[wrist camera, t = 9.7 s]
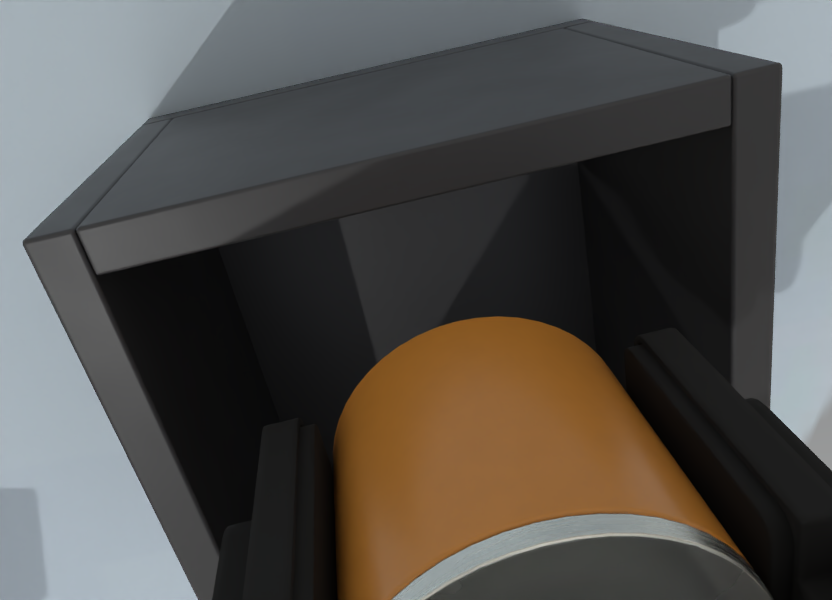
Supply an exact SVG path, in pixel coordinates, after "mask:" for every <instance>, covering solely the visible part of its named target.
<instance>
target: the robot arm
mask: <svg viewBox="0 0 832 600" xmlns="http://www.w3.org/2000/svg"><path fill="white" fill-rule="evenodd" d="M624 364H625V377H626V389H627V393H628V395H629V396H630V398H631V399H632V400H633V402H634V403H635V405H636V406H637V407H638V409H639V410H640V412H641V413H642V414H643V416H644V417H645V419H646V420H647V421H648V423H649V424H650V426H651V427H652V428H653V430H654V431H655V433H656V434H657V435H658V437H659V438H660V440H661V441H662V442H663V444H664V445H665V446H666V448H667V449H668V451H669V452H670V453H671V455H672V456H673V458H674V459H675V460H676V462H677V463H678V465H679V466H680V467H681V469H682V470H683V472H684V473H685V474H686V476H687V477H688V479H689V480H690V481H691V483H692V484H693V486H694V487H695V488H696V490H697V491H698V493H699V494H700V495H701V497H702V498H703V500H704V501H705V502H706V504H707V505H708V506H709V508H710V509H711V511H712V512H713V513H714V515H715V516H716V518H717V519H718V520H719V522H720V523H721V525H722V526H723V527H724V529H725V530H726V532H727V533H728V534H729V536H730V537H731V539H732V540H733V541H734V543H735V544H736V546H737V547H738V548H739V550H740V551H741V553H742V554H743V555H744V557H745V558H746V560H747V561H748V562H749V564H750V565H751V566H752V568H753V570H754V571H755V572H756V574H757V575H758V576H759V578H760V579H761V580H762V582H763V583H764V585H765V586H766V587H767V589H768V590H769V592H770V593H771V594H772V596H773V598H774V600H832V471H831V470H830V469H829V468H828V467H827V466H826V465H825V464H824V463H823V462H822V461H821V460H820V459H819V458H818V457H817V456H816V455H815V454H814V453H813V452H812V451H811V450H810V449H809V448H808V447H807V446H806V445H805V444H804V443H803V442H802V441H801V440H800V439H799V438H798V437H797V436H796V435H795V434H794V433H793V432H792V431H791V430H790V429H789V428H788V427H787V426H786V425H785V424H784V423H783V422H782V421H781V420H780V419H779V418H778V417H777V416H776V415H775V414H774V413H773V412H772V411H771V410H770V409H769V408H768V407H767V406H766V405H764V404H763V403H762V402H760V401H759V400H758V399H754V398H748V399H744V398H743V397H742V396H741V395H740V394H739V393H738V392H737V391H736V390H735V388H734V387H733V386H732V385H731V384H730V383H729V382H728V381H727V380H726V379H725V378H724V377H723V376H722V375H721V374H720V373H719V372H718V371H717V370H716V369H715V368H714V367H713V366H712V365H711V364H710V363H709V362H708V361H707V360H706V359H705V358H704V357H703V356H702V355H701V354H700V353H699V352H698V351H697V349H696V348H695V347H694V346H693V345H692V344H691V343H690V342H689V341H688V340H687V339H686V338H685V337H684V336H683V335H682V334H681V333H680V332H679V331H678V330H677V329H675V328H667V329H663V330H659V331H654V332H650V333H646V334H642V335H638V336H636V337H635V340H634V346H633V347H629V348H626V349H625V351H624ZM212 600H337V574H336V541H335V508H334V475H333V471H332V468H331V465H330V461H329V458H328V455H327V452H326V449H325V446H324V443H323V440H322V437H321V434H320V431H319V428H318V426H317V424H311V425H307V426H305V425H304V423H303V421H302V419H301V418H300V417H299V418H295V419H291V420H287V421H283V422H279V423H274V424H270V425H266V426H264V427H263V430H262V437H261V445H260V454H259V462H258V471H257V479H256V488H255V496H254V505H253V513H252V520H251V521H247V522H242V523H238V524H234V525H230V526H228V527H227V528H226V529H225V530H224V534H223V538H222V542H221V549H220V555H219V561H218V567H217V573H216V579H215V585H214V591H213V597H212Z"/></svg>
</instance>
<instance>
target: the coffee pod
mask: <svg viewBox="0 0 832 600" xmlns="http://www.w3.org/2000/svg"><path fill="white" fill-rule="evenodd" d="M333 475H334V508H335V541H336V574H337V600H774V598H773V596H772V594H771V593H770V592H769V590H768V589H767V587H766V586H765V585H764V583H763V582H762V580H761V579H760V578H759V576H758V575H757V574H756V572H755V571H754V570H753V568H752V566H751V565H750V564H749V562H748V561H747V560H746V558H745V557H744V555H743V554H742V553H741V551H740V550H739V548H738V547H737V546H736V544H735V543H734V541H733V540H732V539H731V537H730V536H729V534H728V533H727V532H726V530H725V529H724V527H723V526H722V525H721V523H720V522H719V520H718V519H717V518H716V516H715V515H714V513H713V512H712V511H711V509H710V508H709V506H708V505H707V504H706V502H705V501H704V500H703V498H702V497H701V495H700V494H699V493H698V491H697V490H696V488H695V487H694V486H693V484H692V483H691V481H690V480H689V479H688V477H687V476H686V474H685V473H684V472H683V470H682V469H681V467H680V466H679V465H678V463H677V462H676V460H675V459H674V458H673V456H672V455H671V453H670V452H669V451H668V449H667V448H666V446H665V445H664V444H663V442H662V441H661V440H660V438H659V437H658V435H657V434H656V433H655V431H654V430H653V428H652V427H651V426H650V424H649V423H648V421H647V420H646V419H645V417H644V416H643V414H642V413H641V412H640V410H639V409H638V407H637V406H636V405H635V403H634V402H633V400H632V399H631V398H630V396H629V395H628V393H627V392H626V391H625V389H624V388H623V387H622V385H621V384H620V382H619V381H618V380H617V378H616V377H615V375H614V374H613V373H612V371H611V370H610V368H609V367H608V366H607V365H606V363H605V362H604V361H603V359H602V358H601V357H600V356H599V355H598V354H597V353H596V352H595V351H594V350H593V349H592V348H590V347H589V346H588V345H587V344H585V343H584V342H583V341H581V340H580V339H578V338H577V337H575V336H574V335H572V334H570V333H568V332H566V331H564V330H561V329H559V328H557V327H554V326H551V325H548V324H545V323H542V322H539V321H534V320H529V319H523V318H518V317H501V316H495V317H479V318H472V319H467V320H461V321H456V322H453V323H449V324H446V325H443V326H439V327H436V328H434V329H431V330H429V331H427V332H425V333H422V334H420V335H418V336H416V337H414V338H412V339H410V340H409V341H407V342H405V343H404V344H402V345H400V346H398V347H397V348H396V349H394V350H393V351H392V352H390V353H389V354H388V355H386V356H385V357H384V358H382V359H381V360H380V361H379V362H378V363H377V364H376V365H375V366H374V367H373V368H372V369H371V370H370V371H369V372H368V373H367V374H366V375H365V377H364V378H363V379H362V380H361V382H360V383H359V384H358V385H357V387H356V388H355V389H354V391H353V393H352V394H351V396H350V398H349V399H348V401H347V403H346V404H345V407H344V409H343V411H342V414H341V416H340V418H339V421H338V425H337V429H336V433H335V437H334V447H333Z"/></svg>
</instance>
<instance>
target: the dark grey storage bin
mask: <svg viewBox="0 0 832 600" xmlns="http://www.w3.org/2000/svg"><path fill="white" fill-rule="evenodd" d="M781 90H782V65H781V64H780V63H777V62H772V61H768V60H763V59H759V58H755V57H750V56H746V55H741V54H737V53H732V52H728V51H723V50H719V49H714V48H710V47H705V46H701V45H696V44H692V43H688V42H683V41H679V40H674V39H670V38H665V37H661V36H656V35H652V34H647V33H643V32H638V31H634V30H630V29H625V28H621V27H616V26H612V25H607V24H603V23H598V22H594V21H590V20H585V19H579V20H575V21H571V22H566V23H562V24H558V25H553V26H549V27H545V28H540V29H536V30H532V31H527V32H523V33H519V34H514V35H510V36H506V37H501V38H497V39H493V40H488V41H484V42H480V43H475V44H471V45H467V46H462V47H458V48H454V49H449V50H445V51H441V52H436V53H432V54H428V55H423V56H419V57H415V58H410V59H406V60H402V61H397V62H393V63H389V64H384V65H380V66H376V67H371V68H367V69H363V70H358V71H354V72H350V73H345V74H341V75H337V76H332V77H328V78H324V79H319V80H315V81H311V82H307V83H302V84H298V85H294V86H289V87H285V88H281V89H276V90H272V91H268V92H263V93H259V94H255V95H250V96H246V97H242V98H237V99H233V100H229V101H224V102H220V103H216V104H211V105H207V106H203V107H198V108H194V109H190V110H185V111H181V112H177V113H172V114H168V115H164V116H159V117H155V118H151V119H148V120H147V121H146V122H145V123H144V124H143V125H142V126H141V127H140V128H139V129H138V130H137V131H136V132H135V133H134V134H133V135H132V136H131V137H130V138H129V139H128V140H127V141H126V142H125V143H124V144H123V145H122V146H120V147H119V148H118V149H117V150H116V151H115V152H114V153H113V154H112V155H111V156H110V157H109V158H108V159H107V160H106V161H105V162H104V163H103V164H102V165H101V166H100V167H99V168H98V169H97V170H96V171H95V172H94V173H93V174H92V175H91V176H89V177H88V178H87V179H86V180H85V181H84V182H83V183H82V184H81V185H80V186H79V187H78V188H77V189H76V190H75V191H74V192H73V193H72V194H71V195H70V196H69V197H68V198H67V199H66V200H65V201H64V202H63V203H62V204H61V205H60V206H58V207H57V208H56V209H55V210H54V211H53V212H52V213H51V214H50V215H49V216H48V217H47V218H46V219H45V220H44V221H43V222H42V223H41V224H40V225H39V226H38V227H37V228H36V229H35V230H34V231H33V232H32V233H31V234H30V235H29V236H27V237H26V238H25V239H24V240H23V246H24V248H25V250H26V252H27V254H28V256H29V258H30V260H31V262H32V264H33V266H34V268H35V270H36V272H37V274H38V276H39V278H40V280H41V282H42V284H43V286H44V289H45V291H46V293H47V295H48V297H49V299H50V301H51V303H52V305H53V307H54V309H55V311H56V313H57V315H58V317H59V319H60V321H61V323H62V325H63V327H64V329H65V331H66V333H67V335H68V337H69V339H70V341H71V343H72V345H73V347H74V349H75V351H76V353H77V355H78V357H79V359H80V361H81V363H82V365H83V367H84V369H85V372H86V374H87V376H88V378H89V380H90V382H91V384H92V386H93V388H94V390H95V392H96V394H97V396H98V398H99V400H100V402H101V404H102V406H103V408H104V410H105V412H106V414H107V416H108V418H109V420H110V422H111V424H112V426H113V428H114V430H115V432H116V434H117V436H118V438H119V440H120V442H121V444H122V446H123V448H124V450H125V452H126V454H127V457H128V459H129V461H130V463H131V465H132V467H133V469H134V471H135V473H136V475H137V477H138V479H139V481H140V483H141V485H142V487H143V489H144V491H145V493H146V495H147V497H148V499H149V501H150V503H151V505H152V507H153V509H154V511H155V513H156V515H157V517H158V519H159V521H160V523H161V525H162V527H163V529H164V531H165V533H166V535H167V537H168V540H169V542H170V544H171V546H172V548H173V550H174V552H175V554H176V556H177V558H178V560H179V562H180V564H181V566H182V568H183V570H184V572H185V574H186V576H187V578H188V580H189V582H190V584H191V586H192V588H193V590H194V592H195V594H196V596H197V598H198V600H212V597H213V591H214V585H215V579H216V573H217V567H218V561H219V555H220V549H221V542H222V538H223V534H224V530H225V529H226V528H227V527H228V526H230V525H234V524H238V523H242V522H247V521H251V520H252V513H253V505H254V496H255V488H256V479H257V471H258V462H259V454H260V445H261V437H262V430H263V427H264V426H266V425H270V424H274V423H279V422H283V421H287V420H291V419H295V418H299V417H300V418H301V419H302V421H303V423H304V425H305V426H307V425H311V424H317V426H318V428H319V431H320V434H321V437H322V440H323V443H324V446H325V449H326V452H327V455H328V458H329V461H330V465H331V468H332V471H333V447H334V437H335V433H336V429H337V425H338V421H339V418H340V416H341V414H342V411H343V409H344V407H345V404H346V403H347V401H348V399H349V398H350V396H351V394H352V393H353V391H354V389H355V388H356V387H357V385H358V384H359V383H360V382H361V380H362V379H363V378H364V377H365V375H366V374H367V373H368V372H369V371H370V370H371V369H372V368H373V367H374V366H375V365H376V364H377V363H378V362H379V361H380V360H381V359H382V358H384V357H385V356H386V355H388V354H389V353H390V352H392V351H393V350H394V349H396V348H397V347H398V346H400V345H402V344H404V343H405V342H407V341H409V340H410V339H412V338H414V337H416V336H418V335H420V334H422V333H425V332H427V331H429V330H431V329H434V328H436V327H439V326H443V325H446V324H449V323H453V322H456V321H461V320H467V319H472V318H479V317H495V316H501V317H518V318H523V319H529V320H534V321H539V322H542V323H545V324H548V325H551V326H554V327H557V328H559V329H561V330H564V331H566V332H568V333H570V334H572V335H574V336H575V337H577V338H578V339H580V340H581V341H583V342H584V343H585V344H587V345H588V346H589V347H590V348H592V349H593V350H594V351H595V352H596V353H597V354H598V355H599V356H600V357H601V358H602V359H603V361H604V362H605V363H606V365H607V366H608V367H609V368H610V370H611V371H612V373H613V374H614V375H615V377H616V378H617V380H618V381H619V382H620V384H621V385H622V387H623V388H624V389H625V391H626V392H627V389H626V377H625V364H624V351H625V349H626V348H629V347H633V346H634V340H635V337H636V336H638V335H642V334H646V333H650V332H654V331H659V330H663V329H667V328H675V329H677V330H678V331H679V332H680V333H681V334H682V335H683V336H684V337H685V338H686V339H687V340H688V341H689V342H690V343H691V344H692V345H693V346H694V347H695V348H696V349H697V351H698V352H699V353H700V354H701V355H702V356H703V357H704V358H705V359H706V360H707V361H708V362H709V363H710V364H711V365H712V366H713V367H714V368H715V369H716V370H717V371H718V372H719V373H720V374H721V375H722V376H723V377H724V378H725V379H726V380H727V381H728V382H729V383H730V384H731V385H732V386H733V387H734V388H735V390H736V391H737V392H738V393H739V394H740V395H741V396H742V397H743V398H744V399H748V398H754V399H758V400H759V401H760V402H762V403H763V404H764V405H766V406H767V407H768V408H769V409H770V395H771V368H772V340H773V312H774V284H775V257H776V229H777V201H778V173H779V145H780V118H781Z"/></svg>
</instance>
